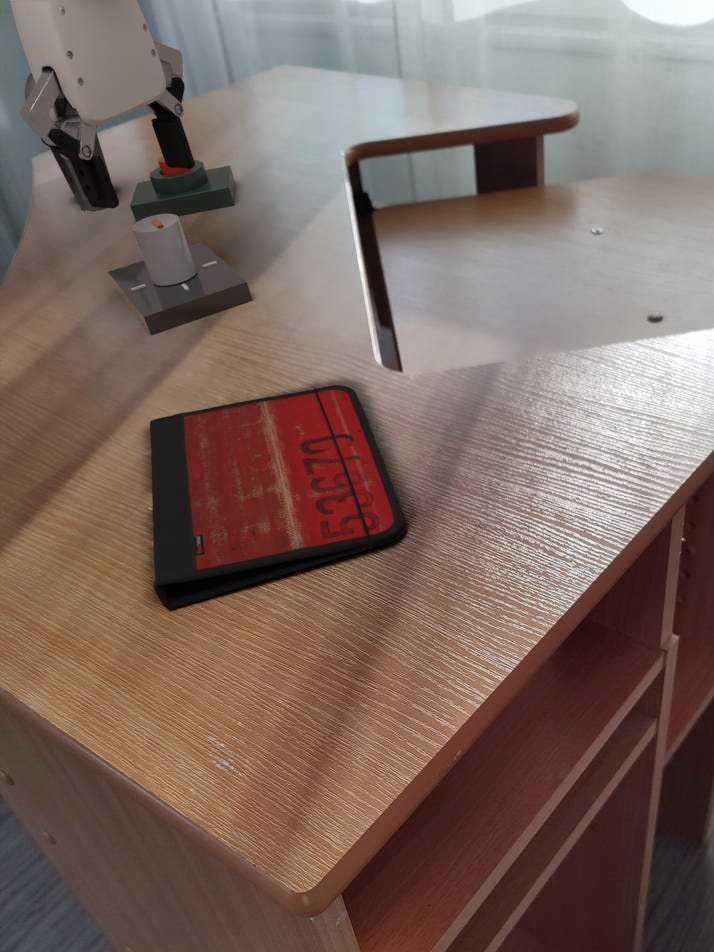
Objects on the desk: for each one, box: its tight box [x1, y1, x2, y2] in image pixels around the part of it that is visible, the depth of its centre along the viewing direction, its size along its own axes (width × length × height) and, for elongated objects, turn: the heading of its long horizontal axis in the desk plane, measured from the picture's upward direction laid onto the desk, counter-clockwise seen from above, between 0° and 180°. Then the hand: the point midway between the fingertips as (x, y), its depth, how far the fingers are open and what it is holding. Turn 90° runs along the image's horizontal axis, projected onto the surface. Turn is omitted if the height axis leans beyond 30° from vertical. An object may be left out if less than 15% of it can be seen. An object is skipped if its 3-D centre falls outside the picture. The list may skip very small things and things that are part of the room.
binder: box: [149, 384, 408, 610], centre depth 61 cm, size 16×2×21 cm
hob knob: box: [131, 214, 197, 286], centre depth 82 cm, size 4×4×5 cm
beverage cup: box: [24, 71, 111, 212], centre depth 106 cm, size 7×7×20 cm
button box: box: [129, 159, 236, 223], centre depth 108 cm, size 12×9×4 cm
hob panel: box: [107, 241, 254, 337], centre depth 85 cm, size 14×10×3 cm
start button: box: [157, 155, 192, 175], centre depth 106 cm, size 4×4×2 cm
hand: (145, 186), depth 78 cm, fingers open, 9 cm apart
